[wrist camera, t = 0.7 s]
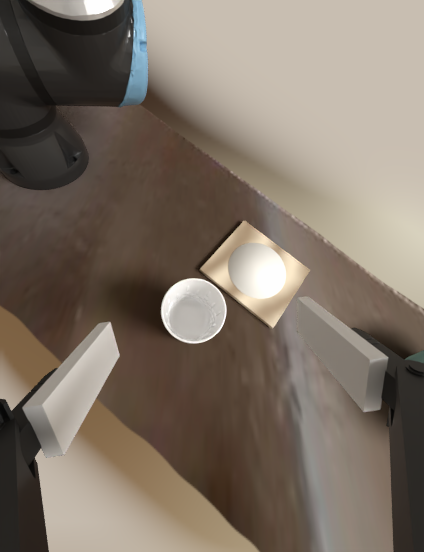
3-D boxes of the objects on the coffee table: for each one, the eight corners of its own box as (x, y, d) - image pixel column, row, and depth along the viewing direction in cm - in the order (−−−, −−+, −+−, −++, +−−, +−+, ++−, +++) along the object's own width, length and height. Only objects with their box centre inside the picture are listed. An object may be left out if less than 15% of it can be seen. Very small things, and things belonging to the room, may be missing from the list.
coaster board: (199, 270, 38) (200, 268, 37) (242, 222, 43) (244, 220, 42) (270, 328, 37) (273, 327, 36) (307, 271, 42) (310, 269, 41)
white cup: (158, 339, 33) (152, 334, 24) (172, 292, 36) (171, 271, 27) (207, 351, 34) (219, 350, 24) (217, 303, 37) (231, 286, 27)
